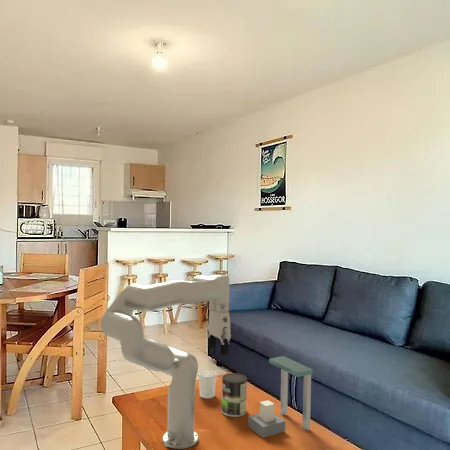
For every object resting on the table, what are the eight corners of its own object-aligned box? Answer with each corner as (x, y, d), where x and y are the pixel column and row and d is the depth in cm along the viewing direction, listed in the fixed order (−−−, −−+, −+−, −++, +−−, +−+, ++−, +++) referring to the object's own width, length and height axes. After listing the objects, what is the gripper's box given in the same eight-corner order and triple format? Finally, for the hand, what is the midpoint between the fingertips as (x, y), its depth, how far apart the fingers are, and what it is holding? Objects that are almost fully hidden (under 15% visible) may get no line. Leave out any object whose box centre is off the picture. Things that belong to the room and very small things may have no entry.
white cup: (195, 393, 195) (196, 371, 195) (211, 391, 198) (212, 369, 198) (202, 400, 188) (202, 377, 188) (218, 397, 191) (219, 375, 191)
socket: (263, 438, 156) (263, 427, 156) (248, 426, 165) (248, 415, 165) (285, 431, 161) (285, 421, 161) (269, 420, 170) (269, 410, 170)
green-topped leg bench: (296, 435, 159) (297, 372, 158) (267, 415, 174) (269, 358, 174) (311, 430, 162) (313, 369, 162) (282, 411, 178) (283, 356, 178)
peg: (265, 432, 160) (265, 406, 160) (259, 428, 164) (259, 402, 163) (273, 430, 162) (274, 404, 162) (267, 425, 166) (268, 400, 165)
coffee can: (228, 419, 171) (229, 383, 170) (217, 408, 180) (217, 375, 180) (251, 414, 175) (251, 379, 175) (238, 404, 184) (239, 371, 184)
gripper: (239, 310, 160) (238, 356, 160) (216, 302, 175) (216, 344, 175) (221, 312, 156) (220, 359, 156) (200, 303, 171) (199, 346, 171)
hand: (218, 351), depth 166 cm, fingers open, 9 cm apart
